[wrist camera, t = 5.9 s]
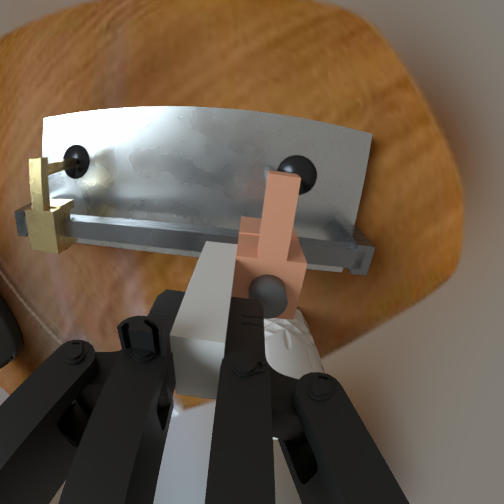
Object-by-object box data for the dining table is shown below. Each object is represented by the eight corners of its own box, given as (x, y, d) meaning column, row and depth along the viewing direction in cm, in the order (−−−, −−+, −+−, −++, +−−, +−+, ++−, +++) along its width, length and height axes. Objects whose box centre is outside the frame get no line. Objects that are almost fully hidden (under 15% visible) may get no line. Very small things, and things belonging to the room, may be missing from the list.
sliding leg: (238, 246, 20) (228, 329, 12) (248, 154, 17) (244, 174, 9) (279, 251, 20) (295, 334, 12) (293, 160, 17) (330, 186, 9)
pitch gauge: (58, 233, 22) (15, 263, 16) (54, 117, 17) (2, 122, 11) (337, 263, 23) (362, 309, 17) (364, 133, 18) (408, 137, 12)
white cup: (249, 282, 24) (247, 372, 14) (327, 310, 25) (356, 394, 16) (218, 343, 26) (207, 428, 17) (288, 364, 28) (298, 444, 19)
